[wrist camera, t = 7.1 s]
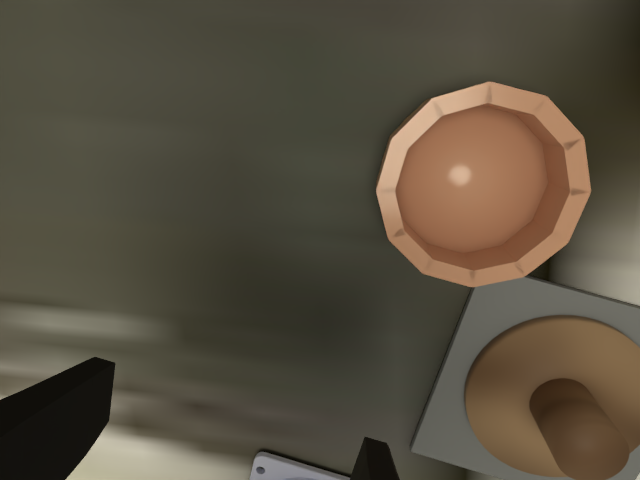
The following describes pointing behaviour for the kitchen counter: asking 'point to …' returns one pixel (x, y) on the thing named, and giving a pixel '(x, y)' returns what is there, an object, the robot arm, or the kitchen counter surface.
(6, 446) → the robot arm
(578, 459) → the lid
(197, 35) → the kitchen counter surface
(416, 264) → the bowl
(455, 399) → the mat
